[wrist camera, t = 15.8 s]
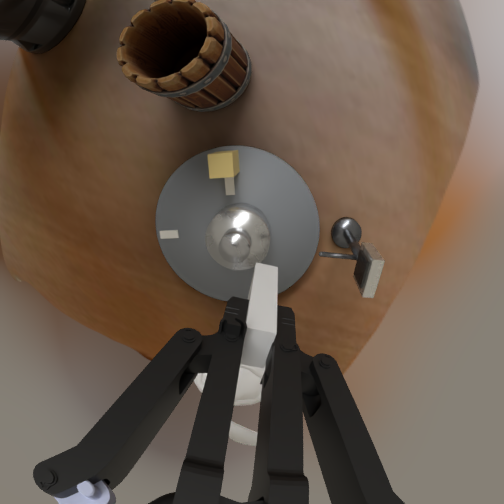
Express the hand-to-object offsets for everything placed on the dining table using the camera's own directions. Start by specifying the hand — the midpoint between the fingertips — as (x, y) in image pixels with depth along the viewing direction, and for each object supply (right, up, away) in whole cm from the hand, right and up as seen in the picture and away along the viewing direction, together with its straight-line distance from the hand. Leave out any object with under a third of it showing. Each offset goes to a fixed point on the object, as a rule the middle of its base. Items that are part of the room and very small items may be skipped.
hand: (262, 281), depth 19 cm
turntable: (-3, +5, +15) cm, 16 cm away
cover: (-2, +4, +13) cm, 14 cm away
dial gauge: (+10, +5, +16) cm, 20 cm away
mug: (-6, +26, +8) cm, 28 cm away
